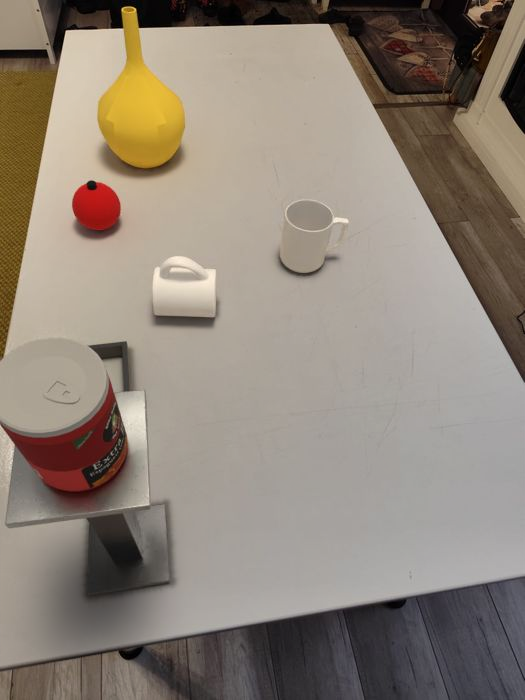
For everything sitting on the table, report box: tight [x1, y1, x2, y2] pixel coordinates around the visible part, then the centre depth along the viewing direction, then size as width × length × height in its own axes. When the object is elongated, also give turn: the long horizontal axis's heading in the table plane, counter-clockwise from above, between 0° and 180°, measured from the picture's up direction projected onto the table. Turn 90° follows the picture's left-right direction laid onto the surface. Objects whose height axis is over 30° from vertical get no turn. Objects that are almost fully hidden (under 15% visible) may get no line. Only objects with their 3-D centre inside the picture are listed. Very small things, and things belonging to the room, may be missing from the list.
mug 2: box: [279, 198, 350, 274], centre depth 98 cm, size 12×9×11 cm
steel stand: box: [4, 389, 171, 596], centre depth 56 cm, size 11×11×30 cm
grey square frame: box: [87, 340, 133, 392], centre depth 81 cm, size 13×13×3 cm
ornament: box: [71, 179, 122, 231], centre depth 100 cm, size 9×9×10 cm
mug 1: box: [151, 255, 218, 318], centre depth 88 cm, size 8×10×12 cm
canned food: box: [0, 337, 128, 492], centre depth 39 cm, size 8×8×11 cm
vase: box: [96, 6, 186, 169], centre depth 106 cm, size 18×18×30 cm
